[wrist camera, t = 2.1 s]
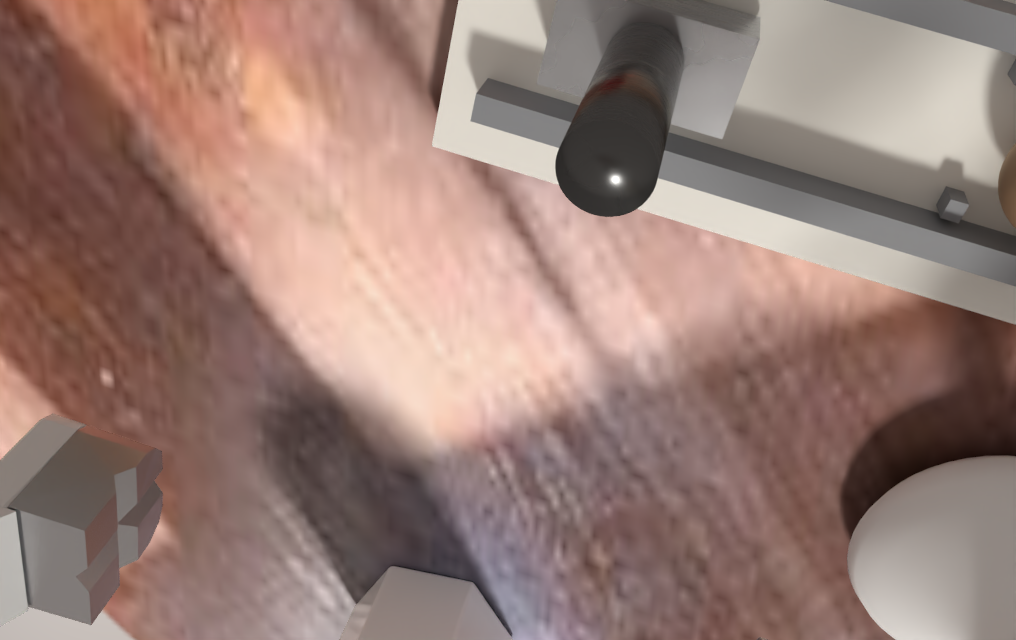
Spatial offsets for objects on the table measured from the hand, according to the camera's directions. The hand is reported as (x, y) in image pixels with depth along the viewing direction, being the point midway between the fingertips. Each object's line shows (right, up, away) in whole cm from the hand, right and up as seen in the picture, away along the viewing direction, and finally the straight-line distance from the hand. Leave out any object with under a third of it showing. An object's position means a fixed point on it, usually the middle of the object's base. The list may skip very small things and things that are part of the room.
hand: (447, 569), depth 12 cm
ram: (+5, +12, +18) cm, 22 cm away
